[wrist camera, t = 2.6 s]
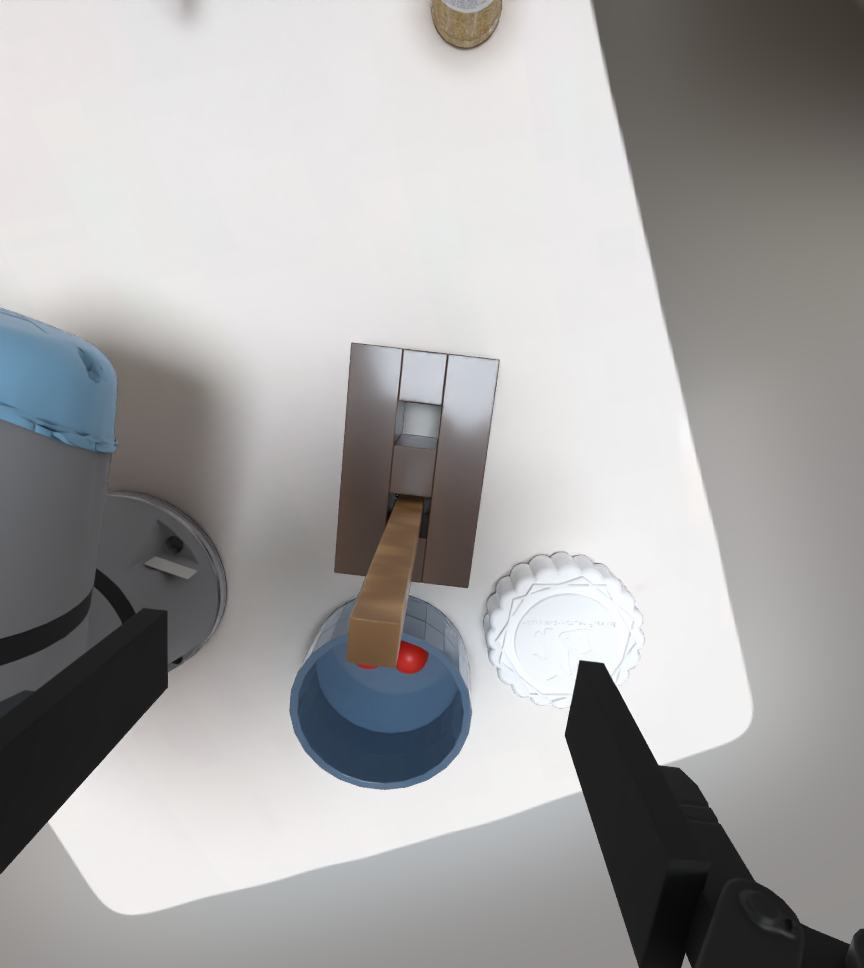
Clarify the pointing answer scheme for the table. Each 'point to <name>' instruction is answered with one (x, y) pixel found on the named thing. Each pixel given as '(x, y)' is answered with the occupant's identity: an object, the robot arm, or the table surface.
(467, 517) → the block
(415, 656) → the tomato
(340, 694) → the bowl
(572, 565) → the mooncake
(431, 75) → the table surface
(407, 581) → the stick
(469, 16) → the sprinkles bottle
